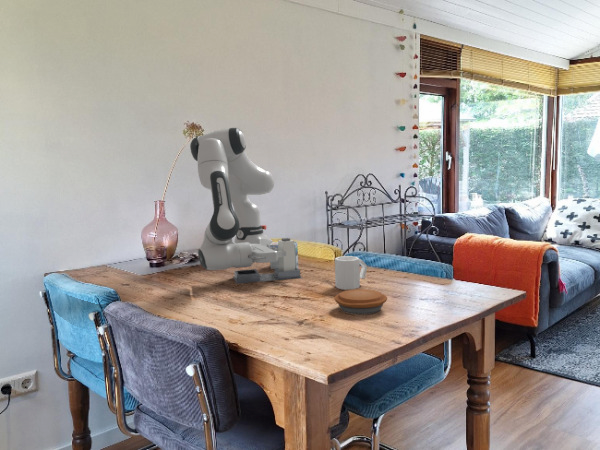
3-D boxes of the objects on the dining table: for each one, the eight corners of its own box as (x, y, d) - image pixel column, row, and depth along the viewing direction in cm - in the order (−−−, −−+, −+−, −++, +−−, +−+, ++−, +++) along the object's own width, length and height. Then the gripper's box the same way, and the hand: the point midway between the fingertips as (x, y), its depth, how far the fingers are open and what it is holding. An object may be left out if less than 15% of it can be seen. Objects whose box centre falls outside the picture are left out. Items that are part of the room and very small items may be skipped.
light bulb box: (298, 267, 228) (297, 241, 226) (297, 271, 221) (296, 244, 219) (272, 267, 229) (271, 241, 227) (270, 271, 222) (269, 244, 221)
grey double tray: (236, 286, 199) (236, 276, 198) (232, 279, 210) (232, 269, 210) (302, 280, 204) (302, 271, 204) (295, 273, 216) (295, 265, 215)
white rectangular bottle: (284, 277, 206) (283, 239, 204) (279, 275, 210) (277, 238, 208) (295, 275, 208) (294, 238, 206) (289, 273, 212) (288, 237, 210)
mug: (344, 290, 188) (344, 261, 186) (330, 285, 195) (329, 258, 194) (373, 285, 194) (373, 257, 192) (358, 281, 201) (358, 253, 200)
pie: (353, 300, 177) (352, 284, 176) (397, 307, 167) (396, 290, 166) (324, 311, 165) (323, 295, 164) (369, 320, 155) (369, 302, 154)
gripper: (253, 250, 191) (291, 246, 197) (236, 242, 210) (271, 239, 215) (254, 268, 192) (291, 264, 197) (237, 258, 211) (272, 255, 216)
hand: (280, 251), depth 207 cm, fingers open, 8 cm apart
